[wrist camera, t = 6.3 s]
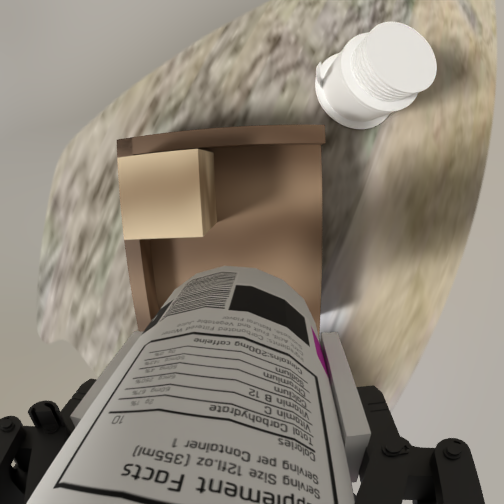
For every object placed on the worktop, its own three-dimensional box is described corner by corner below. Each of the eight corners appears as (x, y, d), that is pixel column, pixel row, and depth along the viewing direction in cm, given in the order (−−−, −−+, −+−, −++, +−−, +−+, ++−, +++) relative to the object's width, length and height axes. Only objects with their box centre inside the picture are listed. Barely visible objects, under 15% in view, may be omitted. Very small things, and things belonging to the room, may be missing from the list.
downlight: (306, 123, 25) (335, 99, 15) (309, 47, 23) (335, -8, 13) (396, 136, 25) (460, 126, 15) (396, 63, 23) (453, 26, 13)
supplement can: (342, 347, 17) (418, 621, 2) (226, 411, 19) (181, 639, 4) (254, 228, 16) (149, 608, 1) (135, 316, 17) (-31, 537, 3)
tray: (313, 316, 29) (322, 351, 23) (164, 317, 30) (142, 348, 24) (313, 134, 25) (324, 124, 19) (147, 144, 26) (116, 139, 20)
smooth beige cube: (217, 222, 23) (202, 236, 19) (152, 225, 24) (124, 239, 19) (213, 152, 22) (197, 148, 17) (147, 158, 22) (117, 157, 18)
